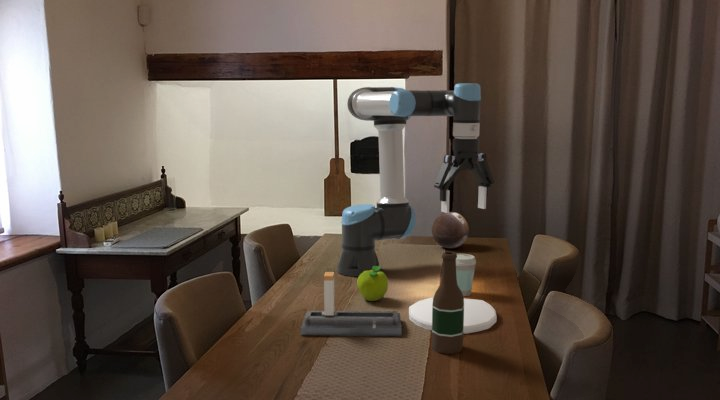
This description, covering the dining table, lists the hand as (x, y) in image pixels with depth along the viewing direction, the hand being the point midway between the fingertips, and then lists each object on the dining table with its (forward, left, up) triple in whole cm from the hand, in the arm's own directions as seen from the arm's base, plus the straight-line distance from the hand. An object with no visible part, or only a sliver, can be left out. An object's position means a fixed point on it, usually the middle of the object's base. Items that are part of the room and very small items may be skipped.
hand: (463, 210), depth 187 cm
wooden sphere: (-57, +44, -28) cm, 77 cm away
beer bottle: (+25, -27, -28) cm, 47 cm away
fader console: (0, -39, -28) cm, 48 cm away
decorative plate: (+8, -11, -29) cm, 32 cm away
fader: (-3, -44, -26) cm, 51 cm away
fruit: (-17, -21, -28) cm, 39 cm away
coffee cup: (-7, +6, -28) cm, 30 cm away
